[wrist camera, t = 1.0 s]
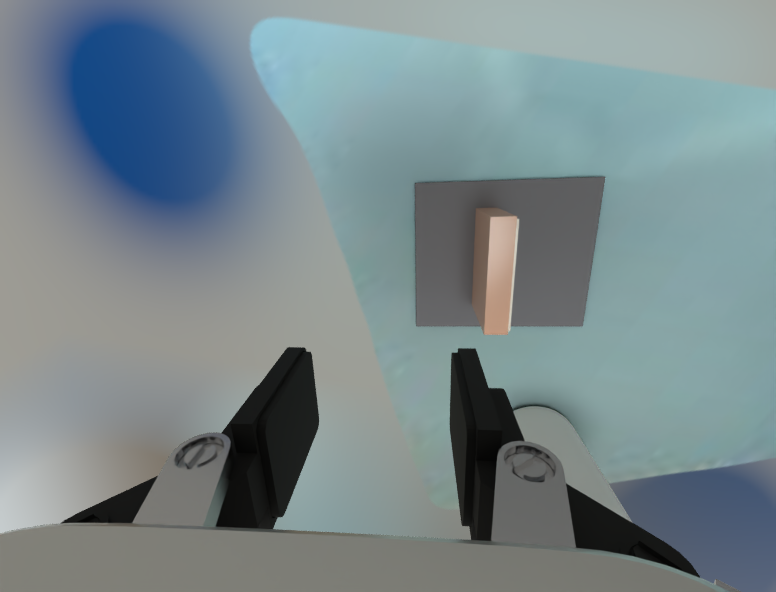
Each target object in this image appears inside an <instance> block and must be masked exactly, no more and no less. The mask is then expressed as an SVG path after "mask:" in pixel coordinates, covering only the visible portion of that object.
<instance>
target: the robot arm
mask: <svg viewBox="0 0 776 592" xmlns="http://www.w3.org/2000/svg"><path fill="white" fill-rule="evenodd" d="M318 425H319V414H318V405H317V397H316V388H315V379H314V370H313V361H312V354H311V352H306V349H305V348H294V347H289V348H287V349H286V350H285V351H284V353H283V354H282V355H281V357H280V358H279V359H278V361H277V362H276V363H275V365H274V366H273V367H272V369H271V370H270V371H269V373H268V374H267V376H266V377H265V378H264V379H263V381H262V382H261V383H260V385H258V386H257V387H256V388H255V389H254V391H253V392H252V393H251V395H250V396H249V397H248V399H247V400H246V401H245V403H244V404H243V405H242V407H241V408H240V409H239V411H238V412H237V413H236V414H235V416H234V417H233V418H232V420H231V421H230V422H229V424H228V425H227V427H226V428H225V429H224V430H223V432H222V433H205V434H201V435H198V436H195V437H193V438H191V439H189V440H187V441H185V442H183V443H182V444H180V445H179V446H178V447H177V448H175V449H174V450H173V452H172V453H171V455H170V456H169V457H168V459H167V461H166V463H165V465H164V466H163V468H162V470H161V472H160V474H159V475H158V476H156V477H154V478H152V479H150V480H148V481H146V482H144V483H141V484H139V485H137V486H135V487H133V488H131V489H129V490H126V491H124V492H123V493H120V494H118V495H116V496H114V497H111V498H109V499H107V500H105V501H103V502H101V503H99V504H96V505H94V506H92V507H90V508H88V509H86V510H84V511H81V512H79V513H77V514H75V515H74V516H72V517H70V518H68V519H67V520H64V522H62V523H60V524H50V525H40V526H34V527H29V528H23V529H17V530H12V531H8V532H4V533H1V534H0V592H740V591H739V590H737V589H735V588H733V587H731V586H729V585H727V584H725V583H723V582H721V581H719V580H717V579H716V580H715V582H714V584H713V583H711V582H708V581H706V580H704V579H701V578H700V576H699V575H698V573H697V572H696V570H695V569H694V568H693V566H692V565H691V563H689V561H687V559H686V558H684V557H683V556H682V555H681V554H680V553H679V552H678V551H676V550H675V549H674V548H672V547H671V546H669V545H668V544H667V543H665V542H664V541H662V540H660V539H659V538H657V537H655V536H654V535H652V534H650V533H649V532H647V531H645V530H644V529H642V528H640V527H639V526H637V525H635V524H634V523H632V522H630V521H629V520H627V519H625V518H624V517H622V516H620V515H619V514H617V513H615V512H613V511H612V510H610V509H608V508H607V507H605V506H603V505H602V504H600V503H598V502H597V501H595V500H593V499H592V498H590V497H588V496H587V495H585V494H583V493H582V492H580V491H578V490H577V489H575V488H573V487H572V486H570V485H568V484H567V483H566V481H565V474H564V469H563V466H562V463H561V461H560V460H559V459H558V458H557V456H556V455H555V454H553V453H552V452H551V451H550V450H548V449H547V448H545V447H543V446H541V445H539V444H535V443H532V442H527V441H525V440H524V437H523V435H522V432H521V430H520V427H519V425H518V422H517V420H516V417H515V415H514V412H513V410H512V407H511V405H510V402H509V400H508V397H507V395H506V392H505V390H504V389H502V388H488V385H487V382H486V379H485V376H484V373H483V370H482V367H481V364H480V361H479V358H478V354H477V351H476V349H461V348H458V353H452V357H451V395H450V434H451V442H452V450H453V458H454V467H455V475H456V483H457V491H458V499H459V507H460V515H461V523H462V526H469V527H470V534H471V540H462V539H444V538H427V537H409V536H392V535H391V536H390V535H373V534H354V533H334V532H316V531H295V530H275V529H273V527H274V525H275V522H276V520H277V518H278V517H283V515H284V513H285V511H286V509H287V506H288V503H289V501H290V499H291V496H292V494H293V491H294V489H295V486H296V483H297V481H298V478H299V476H300V473H301V471H302V468H303V466H304V463H305V460H306V458H307V455H308V453H309V450H310V447H311V445H312V442H313V440H314V438H315V435H316V432H317V430H318Z"/></svg>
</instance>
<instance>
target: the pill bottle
mask: <svg viewBox="0 0 776 592" xmlns="http://www.w3.org/2000/svg"><path fill="white" fill-rule="evenodd" d="M513 412H514V415H515V417H516V420H517V422H518V425H519V427H520V430H521V432H522V435H523V437H524V440H525V441H527V442H532V443H535V444H539V445H541V446H543V447H545V448H547V449H548V450H550V451H551V452H552V453H553V454H555V455H556V456H557V458H558V459H559V460H560V461H561V463H562V466H563V469H564V474H565V481H566V483H567V484H568V485H570V486H572V487H573V488H575V489H577V490H578V491H580V492H582V493H583V494H585V495H587V496H588V497H590V498H592V499H593V500H595V501H597V502H598V503H600V504H602V505H603V506H605V507H607V508H608V509H610V510H612V511H613V512H615V513H617V514H619V515H620V516H622V517H624V518H625V519H627V520H629V521H630V522H632V521H631V520H630V518H629V517H628V515H627V513H626V512H625V510H624V508H623V507H622V505H621V503H620V502H619V500H618V499H617V497H616V495H615V494H614V492H613V491H612V489H611V487H610V486H609V484H608V482H607V481H606V479H605V477H604V476H603V474H602V473H601V471H600V469H599V468H598V466H597V464H596V463H595V461H594V460H593V458H592V456H591V455H590V453H589V451H588V450H587V448H586V447H585V445H584V443H583V442H582V440H581V438H580V437H579V435H578V434H577V432H576V430H575V429H574V427H573V426H572V425H571V423H570V422H569V421H568V420H567V419H566V418H565V417H564V416H563V415H561V414H560V413H558V412H556V411H554V410H552V409H549V408H545V407H539V406H530V407H524V408H520V409H517V410H514V411H513Z"/></svg>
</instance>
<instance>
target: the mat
mask: <svg viewBox="0 0 776 592" xmlns="http://www.w3.org/2000/svg"><path fill="white" fill-rule="evenodd" d="M604 183H605V177H580V178H551V179H521V180H491V181H461V182H432V183H415V227H416V326H480V324H479V321H478V319H477V316H476V314H475V311H474V309H473V307H472V287H473V264H474V241H475V218H476V208H499V209H502V210H504V211H506V212H508V213H511V214H513V215H515V216H517V218H518V219H519V230H518V242H517V254H516V266H515V278H514V290H513V303H512V315H511V326H583V321H584V314H585V307H586V301H587V294H588V288H589V281H590V275H591V268H592V262H593V255H594V248H595V242H596V235H597V229H598V222H599V216H600V209H601V202H602V196H603V189H604Z"/></svg>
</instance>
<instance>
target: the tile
mask: <svg viewBox="0 0 776 592" xmlns="http://www.w3.org/2000/svg"><path fill="white" fill-rule="evenodd" d="M518 230H519V219H518V218H517V216H515V215H513V214H511V213H508V212H506V211H504V210H502V209H499V208H476V218H475V241H474V264H473V287H472V307H473V309H474V311H475V314H476V316H477V319H478V321H479V324H480V326H481V329H482V331H483V333H484V335H508V331H510V327H511V315H512V303H513V290H514V278H515V266H516V254H517V242H518Z"/></svg>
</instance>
